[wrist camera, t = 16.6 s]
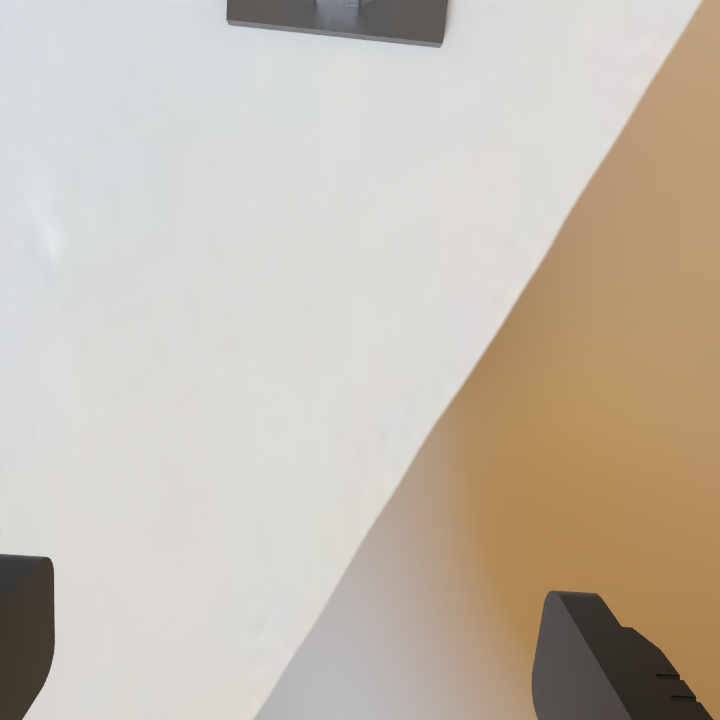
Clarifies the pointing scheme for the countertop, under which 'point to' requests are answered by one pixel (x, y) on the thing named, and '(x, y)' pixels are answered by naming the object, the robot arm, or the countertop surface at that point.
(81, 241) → the countertop surface
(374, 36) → the collar
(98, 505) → the countertop surface
